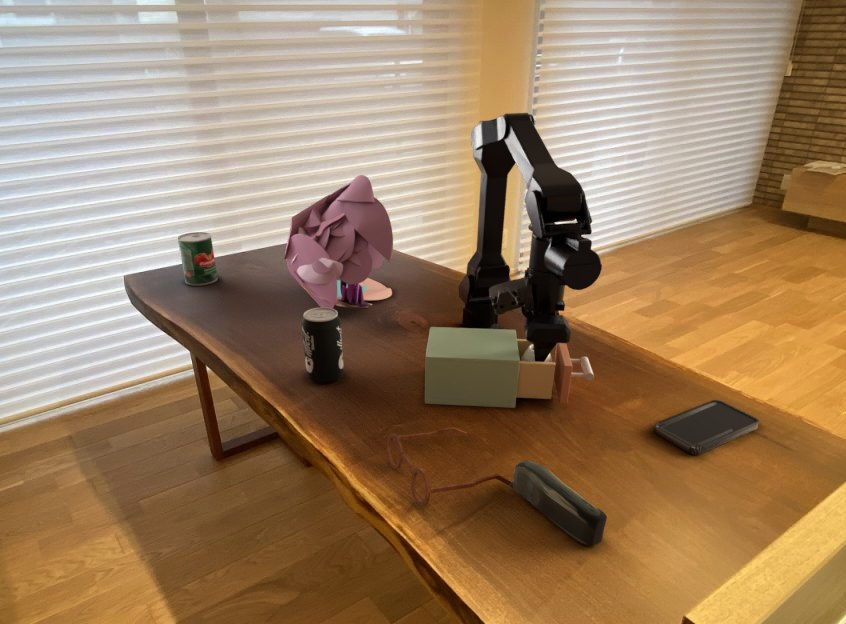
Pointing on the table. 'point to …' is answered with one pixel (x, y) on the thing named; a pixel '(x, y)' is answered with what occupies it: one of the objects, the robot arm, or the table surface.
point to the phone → (706, 426)
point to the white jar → (530, 355)
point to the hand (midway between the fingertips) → (537, 358)
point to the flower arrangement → (341, 246)
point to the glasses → (419, 470)
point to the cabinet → (471, 367)
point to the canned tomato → (197, 258)
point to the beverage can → (323, 345)
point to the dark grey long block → (559, 503)
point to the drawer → (549, 373)
